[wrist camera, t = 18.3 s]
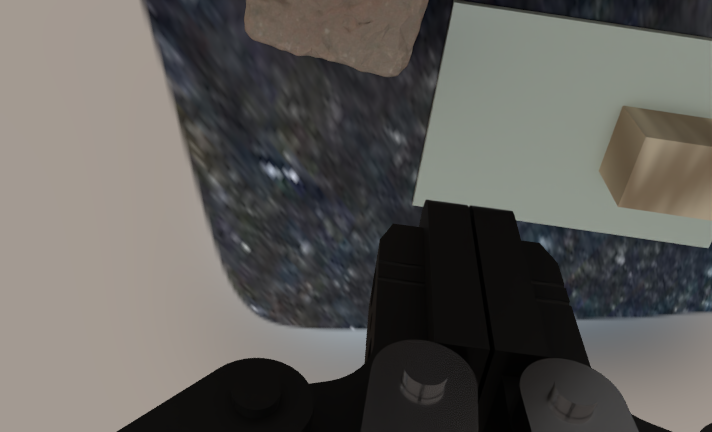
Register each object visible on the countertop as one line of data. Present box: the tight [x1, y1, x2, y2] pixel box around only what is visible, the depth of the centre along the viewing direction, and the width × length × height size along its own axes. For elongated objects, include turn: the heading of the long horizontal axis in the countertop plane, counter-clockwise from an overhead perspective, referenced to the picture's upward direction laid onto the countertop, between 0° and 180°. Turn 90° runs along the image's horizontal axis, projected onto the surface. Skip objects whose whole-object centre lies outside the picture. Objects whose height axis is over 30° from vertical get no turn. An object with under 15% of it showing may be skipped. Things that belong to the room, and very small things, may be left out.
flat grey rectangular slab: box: [412, 0, 712, 248], centre depth 37 cm, size 12×18×1 cm, turn 83°
